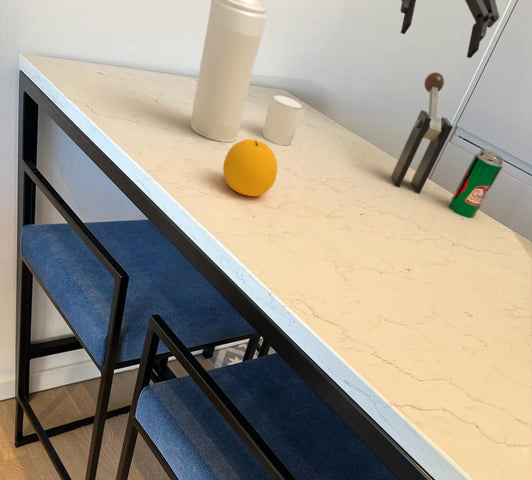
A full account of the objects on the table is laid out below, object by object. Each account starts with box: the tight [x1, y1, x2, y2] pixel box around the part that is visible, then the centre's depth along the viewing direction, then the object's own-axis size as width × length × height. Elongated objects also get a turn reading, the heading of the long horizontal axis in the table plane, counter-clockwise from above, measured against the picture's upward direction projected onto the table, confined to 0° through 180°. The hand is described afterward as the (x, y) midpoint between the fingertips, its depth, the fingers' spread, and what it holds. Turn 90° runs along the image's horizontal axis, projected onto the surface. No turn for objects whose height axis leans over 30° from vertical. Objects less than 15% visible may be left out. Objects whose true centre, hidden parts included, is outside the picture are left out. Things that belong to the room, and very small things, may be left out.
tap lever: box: [423, 72, 445, 141], centre depth 101 cm, size 14×3×3 cm, turn 178°
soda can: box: [447, 148, 505, 219], centre depth 101 cm, size 5×5×12 cm
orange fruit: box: [222, 138, 278, 197], centre depth 83 cm, size 8×8×8 cm
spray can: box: [190, 0, 268, 143], centre depth 92 cm, size 12×11×25 cm
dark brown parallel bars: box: [390, 109, 454, 195], centre depth 102 cm, size 10×8×14 cm
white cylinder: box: [262, 93, 306, 146], centre depth 105 cm, size 7×7×7 cm
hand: (439, 41), depth 105 cm, fingers open, 13 cm apart
